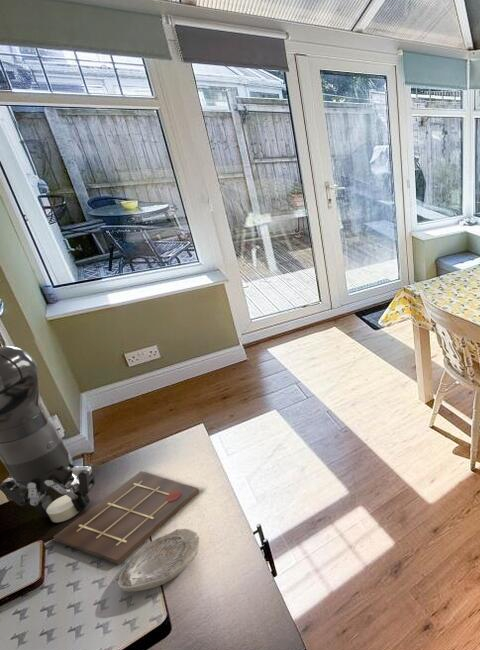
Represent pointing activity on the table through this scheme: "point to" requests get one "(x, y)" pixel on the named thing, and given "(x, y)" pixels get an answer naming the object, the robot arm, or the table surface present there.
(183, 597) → the table surface
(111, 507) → the board
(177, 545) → the fossil
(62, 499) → the stone
